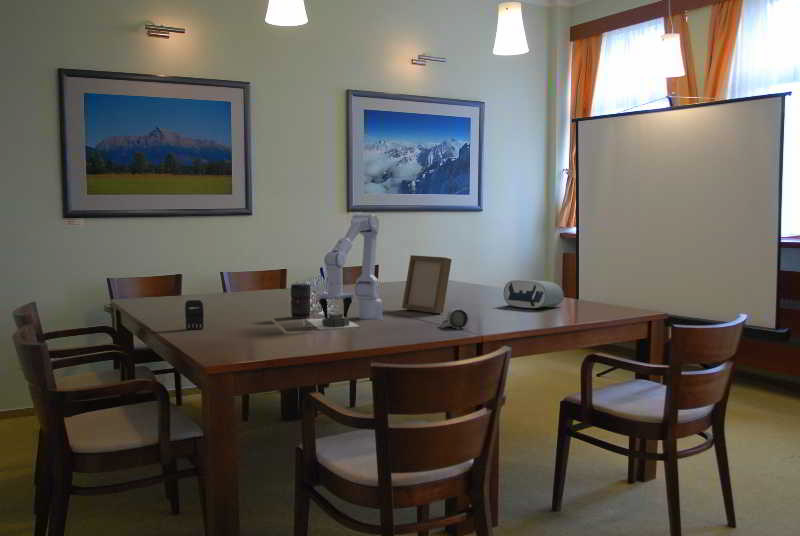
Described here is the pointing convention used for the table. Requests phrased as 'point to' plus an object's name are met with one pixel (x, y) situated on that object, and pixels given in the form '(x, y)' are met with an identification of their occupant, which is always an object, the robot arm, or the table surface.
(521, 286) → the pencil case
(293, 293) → the camera lens
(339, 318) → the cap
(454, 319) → the ceramic mug
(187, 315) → the black battery charger
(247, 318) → the table surface
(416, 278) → the photo frame
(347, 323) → the board
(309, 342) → the table surface
